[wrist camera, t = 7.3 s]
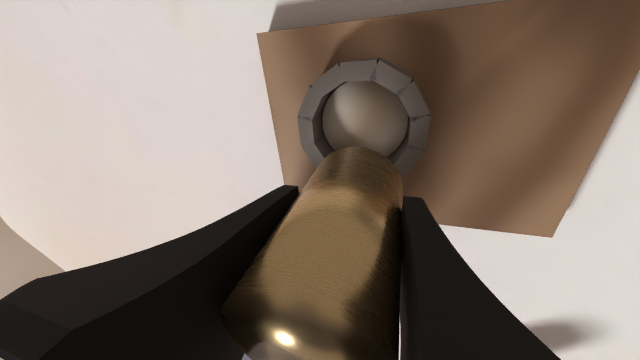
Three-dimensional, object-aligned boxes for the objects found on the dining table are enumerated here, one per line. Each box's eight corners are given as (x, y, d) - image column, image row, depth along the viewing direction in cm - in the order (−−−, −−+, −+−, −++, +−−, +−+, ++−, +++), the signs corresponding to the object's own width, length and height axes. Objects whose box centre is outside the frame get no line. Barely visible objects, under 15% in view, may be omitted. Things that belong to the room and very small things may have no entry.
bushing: (320, 217, 12) (246, 369, 7) (310, 146, 11) (196, 274, 5) (400, 226, 11) (393, 422, 5) (405, 146, 9) (404, 321, 4)
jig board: (294, 197, 24) (279, 219, 21) (267, 33, 17) (238, 32, 14) (541, 223, 18) (568, 259, 15) (655, -16, 11) (745, -36, 8)
